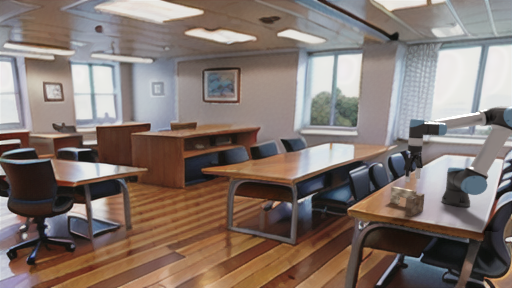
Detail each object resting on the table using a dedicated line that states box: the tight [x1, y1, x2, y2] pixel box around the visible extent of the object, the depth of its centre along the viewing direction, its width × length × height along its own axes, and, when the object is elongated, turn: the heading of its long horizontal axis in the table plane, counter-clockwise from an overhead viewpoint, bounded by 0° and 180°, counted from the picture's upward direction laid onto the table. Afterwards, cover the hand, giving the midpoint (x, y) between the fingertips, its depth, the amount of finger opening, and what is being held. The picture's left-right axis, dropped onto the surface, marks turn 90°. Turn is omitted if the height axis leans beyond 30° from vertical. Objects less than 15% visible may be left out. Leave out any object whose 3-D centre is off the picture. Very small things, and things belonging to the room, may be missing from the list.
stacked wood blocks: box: [389, 186, 417, 205], centre depth 185 cm, size 14×3×10 cm, turn 39°
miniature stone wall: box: [405, 192, 425, 217], centre depth 171 cm, size 16×3×10 cm, turn 129°
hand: (412, 180), depth 180 cm, fingers open, 13 cm apart
